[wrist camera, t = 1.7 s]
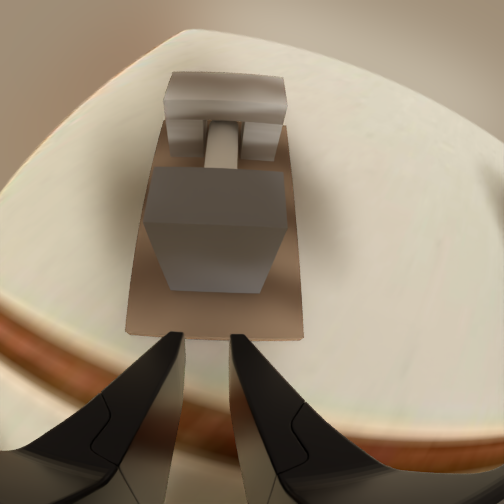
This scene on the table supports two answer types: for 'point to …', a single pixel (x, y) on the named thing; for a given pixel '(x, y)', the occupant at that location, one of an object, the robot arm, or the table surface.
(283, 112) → the frame
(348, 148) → the table surface
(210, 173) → the block
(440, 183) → the table surface
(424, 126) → the table surface
